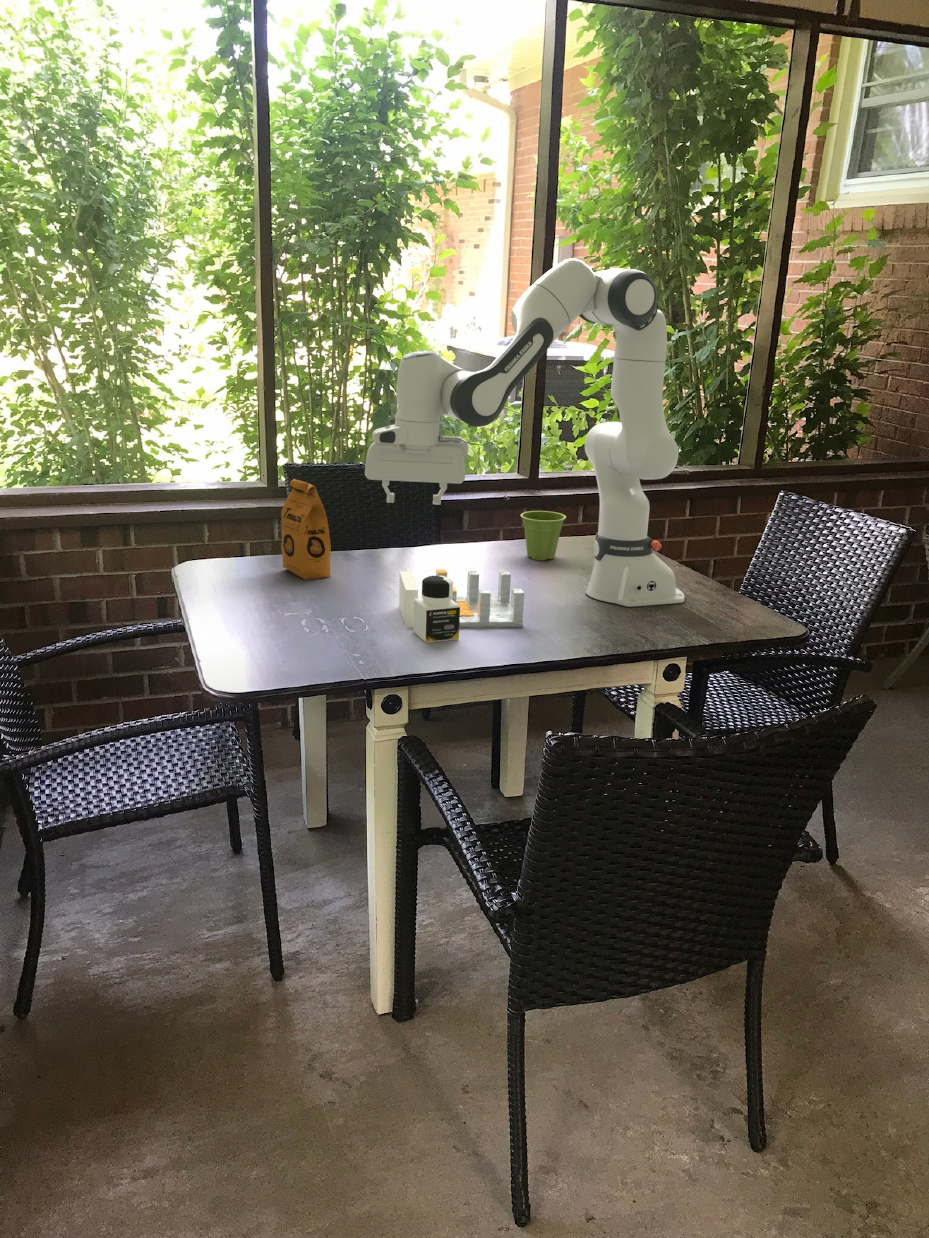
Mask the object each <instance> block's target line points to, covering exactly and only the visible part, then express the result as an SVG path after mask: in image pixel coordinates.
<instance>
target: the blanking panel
mask: <svg viewBox="0 0 929 1238" xmlns="http://www.w3.org/2000/svg"><path fill="white" fill-rule="evenodd" d="M398 580H399V584H398V585H399V586H398V587H399V588H398V589H399V591H398V608H399V611H400V615H401V619H402V621H403V625H404V628H413V625H414V599H416V598H419V589H418V586H417V583H416V581H415V578H414V576H413V573H412V571H402V570H401V571H399V579H398Z"/></svg>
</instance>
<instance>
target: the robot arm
mask: <svg viewBox="0 0 929 1238" xmlns="http://www.w3.org/2000/svg"><path fill="white" fill-rule="evenodd" d="M658 298H659V297H658V289H657V287H656V284H655V282H654V279H653V278H652V277H651V276H650V275H649V274H647V273H645V272H644V271H641V270H639V269H634V268H628V269H627V268H626V269H625V268H610V269H606V270H594V271H593V270H592V268H591V267H590V266H589V265H588V264H587V263H586V262H585V261H583V260H581V259H578V258H567V259H564V260H563V261H562V262H561V261H560V263H558V264H556V265H555V266H553V267H552V268H551V269H549V270H548V271H547V272H545V273H544V274H542V276H540V277H539V278H538V279H537V280H536V281H535V282H533V284H532V285H530V286H529V287H528V288H527V289H526V290H525V291H524V293H522V295H521V296H520V297H519V298H518V299H517V301H516V302H515V304H514V305H513V307H512V309H511V312H510V313H511V315H510V318H511V319H510V320H511V322H510V323H511V325H512V326H511V327H512V329H513V330H514V333H515V334H514V336H513V339H512V340H511V342H509V344H508V345H507V346H506V347H505V348H504V350H502V352H500V354H499V355H498V356H497V357H496V358H495V359H494V361H493V362H491V364H490V365H489V366H487V367H486V368H484V369H482V370H478V371H470V370H466V369H463V368H462V367H459V366H457V365H456V364H453V363H451V362H450V361H448V360H447V359H446V358H444V357H443V356H442V355H441V354H440V352H439V351H437V350H431V349H430V350H428V349H427V350H416V351H411V352H408V353H406V354H405V355H403V356H402V357H401V359H400V361H399V365H398V371H397V378H396V380H397V381H396V390H395V391H396V394H395V397H396V402H397V410H396V413H395V417H394V421H395V422H394V424H390V425H387V426H384V427H380V428H376V429H374V430H373V432H372V436H371V437H372V441H373V442H371V443H370V445H369V446H368V450H367V453H366V458H365V464H364V465H365V466H364V467H365V468H364V476H365V477H366V479H367V480H373V481H381V482H382V483H381V486H382V488H383V489H384V492H385V494H386V503H392V504H393V503H395V493H394V492H391V491H390V489H389V487H388V486H390V481H391V482H392V481H393V482H397V481H398V482H416V483H417V482H418V483H438V484H439V488H440V489H439V491H438V493H437V494H433V495H432V499H433V500H432V505H434V506H435V505H436V506H437V505H439V506H440V505H441V503H442V497H443V495H444V494H445V492H446V490H447V489H448V484H462V483H463V482H464V481H465V479H466V464H465V460H466V458H467V456H468V452H469V451H468V450H469V445H468V442H467V441H466V440H465V439H463V438H462V437H460V436H448V435H440V420H441V417H442V416H448V417H450V418H452V419H455V420H458V421H461V422H463V423H464V424H467V425H468V426H471V427H475V428H479V427H487V426H488V425H490V424H492V423H494V421H496V420H497V419H498V418H499V416H500V415H501V414H502V412H503V411H504V408H505V405H506V403H507V401H508V399H509V398H510V395H511V394H512V392H513V390H514V389H515V388H516V386H518V384H519V383H521V381H522V380H523V379H524V378H525V377H526V375H528V373H529V372H530V371H531V369H533V367H534V366H536V365H537V363H538V362H539V361H540V359H541V358H542V357H543V356H544V354H545V353H546V352H547V351H548V349H549V348H550V347H551V346H552V343H553V342H555V341H556V340H557V339H558V337H559V336H561V334H562V333H563V332H565V331H566V330H567V329H568V328H569V327H570V326H571V325H572V323H573V322H575V320H576V319H577V318H578V317H579V318H580V319H582V320H583V321H585V322H587V323H591V324H599V325H606V326H612V327H613V329H614V334H615V339H616V340H615V341H616V342H615V347H614V355H613V358H614V359H613V364H612V376H611V385H610V386H611V387H610V397H611V398H612V401H614V402H613V403H614V404H615V405H616V407H617V409H618V413H619V416H620V417H619V418H620V421H608V422H601V423H598V424H595V425H594V426H593V427H591V428H590V430H589V431H588V433H587V434H586V437H585V440H584V453H585V454H586V457H587V458H588V460H589V462H590V463H591V466H592V467H593V468H592V469H593V470H594V474H595V478H596V482H597V489H598V496H599V511H598V512H599V513H598V529H597V530H598V531H597V532H596V534H595V540H594V546H593V555H594V562H593V567H592V572H591V575H590V579H589V583H588V586H587V587H586V590H585V593H586V595H587V596H589V597H590V598H593V599H595V600H598V601H601V602H602V601H603V602H607V603H611V604H617V605H620V606H623V607H629V608H630V607H643V606H644V607H645V606H656V605H668V604H670V605H671V604H681V603H684V602H685V594H684V592H682V590H680V589H679V588H678V587H677V586H676V585H677V583H676V576H675V573H674V571H673V570H672V569H671V567H670V566H668V564H666V563H665V562H664V561H663V560H662V559H661V558H659V557H658V556H657V555H656V554H655V553H654V551H656V552H657V551H660V549H662V544H661V542H660V541H658V540H656V539H655V540H654V539H652V538H651V537H650V536H648V528H649V526H648V525H649V517H650V507H651V506H650V500H649V499H648V497H647V496H646V495H645V492H644V491H643V489H642V485H641V481H640V480H646V481H647V480H661V479H664V478H667V477H668V476H669V475H670V474H671V473H672V472H673V471H674V470H675V468H676V465H677V463H678V460H679V446H678V443H677V442H676V441H675V439H674V438H673V437H672V435H671V433H670V430H669V428H668V425H667V422H666V416H665V411H664V403H663V402H664V401H663V397H664V396H663V391H664V382H665V381H664V378H665V372H666V360H667V351H668V334H667V333H668V330H667V318H666V316H665V315H664V313H663V312H662V311H661V310H660V309H659V300H658Z"/></svg>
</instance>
